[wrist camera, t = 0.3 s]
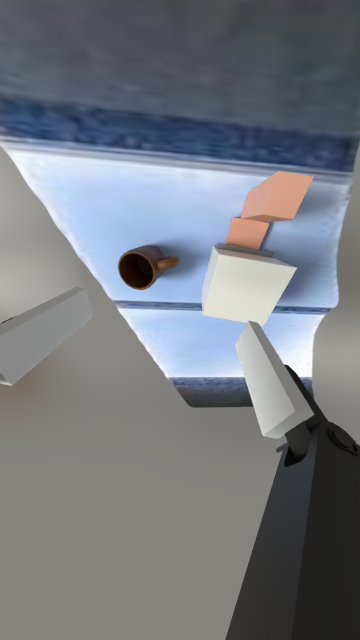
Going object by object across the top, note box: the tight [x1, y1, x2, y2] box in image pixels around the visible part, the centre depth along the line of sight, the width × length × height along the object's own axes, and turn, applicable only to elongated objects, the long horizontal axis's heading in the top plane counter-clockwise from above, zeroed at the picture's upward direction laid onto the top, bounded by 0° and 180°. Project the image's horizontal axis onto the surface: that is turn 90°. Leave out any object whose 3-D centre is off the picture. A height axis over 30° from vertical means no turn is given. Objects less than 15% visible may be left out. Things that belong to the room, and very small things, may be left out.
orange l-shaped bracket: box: [225, 171, 313, 250], centre depth 26 cm, size 18×7×12 cm, turn 172°
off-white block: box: [202, 243, 297, 326], centre depth 29 cm, size 12×12×12 cm
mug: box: [118, 245, 179, 290], centre depth 31 cm, size 12×8×9 cm, turn 103°
